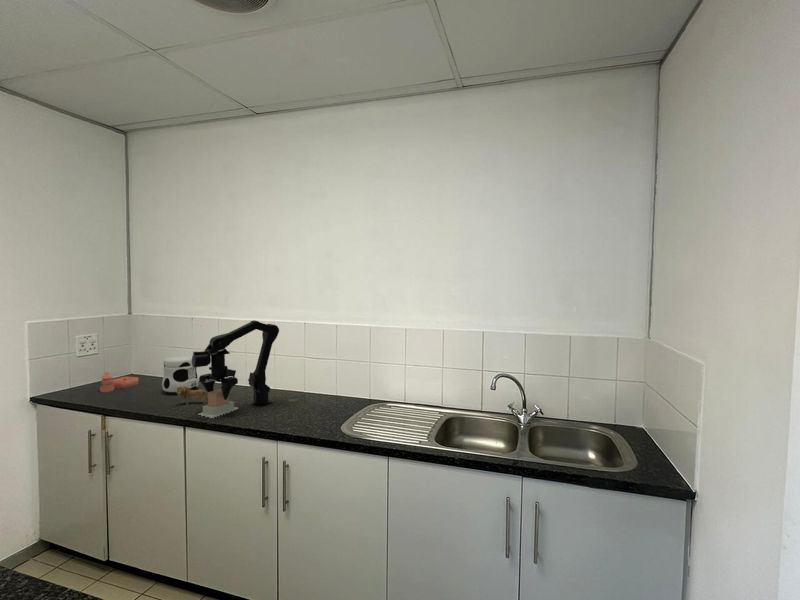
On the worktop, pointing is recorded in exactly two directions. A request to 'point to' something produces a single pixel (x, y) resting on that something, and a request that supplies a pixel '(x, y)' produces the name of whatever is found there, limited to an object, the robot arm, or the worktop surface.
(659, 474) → the worktop surface
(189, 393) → the lion figurine
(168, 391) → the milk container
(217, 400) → the terracotta brick
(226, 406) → the grey scalloped base block
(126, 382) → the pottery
